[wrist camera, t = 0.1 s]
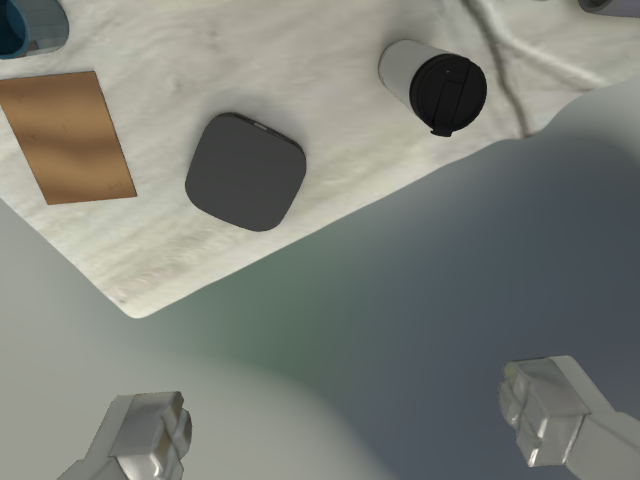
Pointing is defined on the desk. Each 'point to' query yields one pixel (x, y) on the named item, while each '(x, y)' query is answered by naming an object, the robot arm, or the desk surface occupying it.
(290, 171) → the media streaming box
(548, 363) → the robot arm
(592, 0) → the bluetooth speaker
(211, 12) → the desk surface
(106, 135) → the brown flat rectangular board
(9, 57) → the cup
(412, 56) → the travel mug
